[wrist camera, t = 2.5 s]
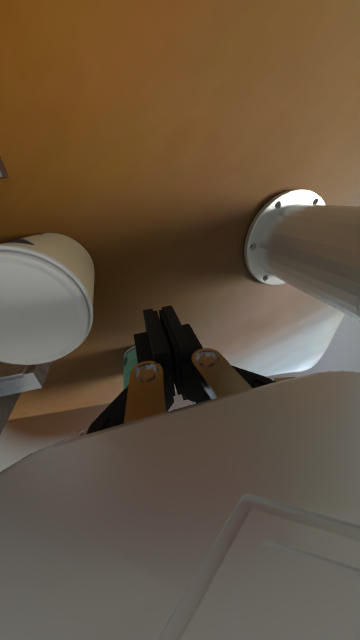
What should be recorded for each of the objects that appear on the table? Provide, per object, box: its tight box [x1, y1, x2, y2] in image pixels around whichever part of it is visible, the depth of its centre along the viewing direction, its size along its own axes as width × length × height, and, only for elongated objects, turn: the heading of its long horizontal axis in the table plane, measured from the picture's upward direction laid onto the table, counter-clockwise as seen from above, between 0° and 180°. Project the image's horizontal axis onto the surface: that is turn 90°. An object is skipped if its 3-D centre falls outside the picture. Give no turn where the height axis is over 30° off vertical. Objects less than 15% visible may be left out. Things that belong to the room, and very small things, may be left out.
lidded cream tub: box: [0, 233, 95, 365], centre depth 19 cm, size 9×9×12 cm
